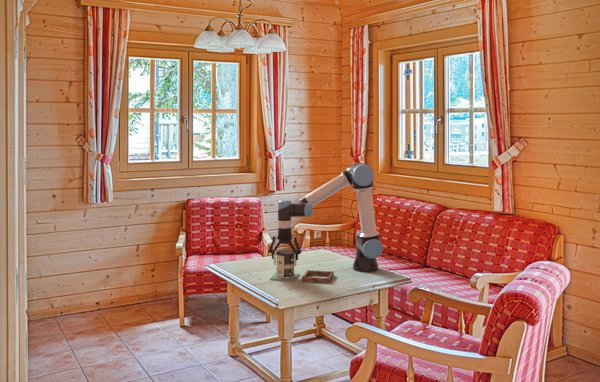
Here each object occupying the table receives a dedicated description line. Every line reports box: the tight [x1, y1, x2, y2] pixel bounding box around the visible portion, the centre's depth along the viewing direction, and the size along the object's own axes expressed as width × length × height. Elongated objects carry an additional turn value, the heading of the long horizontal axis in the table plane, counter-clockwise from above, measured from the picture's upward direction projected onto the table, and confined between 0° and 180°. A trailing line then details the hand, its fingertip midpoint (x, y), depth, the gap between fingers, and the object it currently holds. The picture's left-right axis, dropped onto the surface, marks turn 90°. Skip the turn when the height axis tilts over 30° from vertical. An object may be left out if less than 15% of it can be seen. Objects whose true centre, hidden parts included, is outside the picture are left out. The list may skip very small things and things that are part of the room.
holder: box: [301, 269, 335, 284], centre depth 332 cm, size 15×15×2 cm
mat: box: [269, 272, 301, 282], centre depth 335 cm, size 14×14×1 cm
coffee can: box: [276, 249, 295, 279], centre depth 334 cm, size 10×10×14 cm
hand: (285, 265), depth 334 cm, fingers open, 11 cm apart
